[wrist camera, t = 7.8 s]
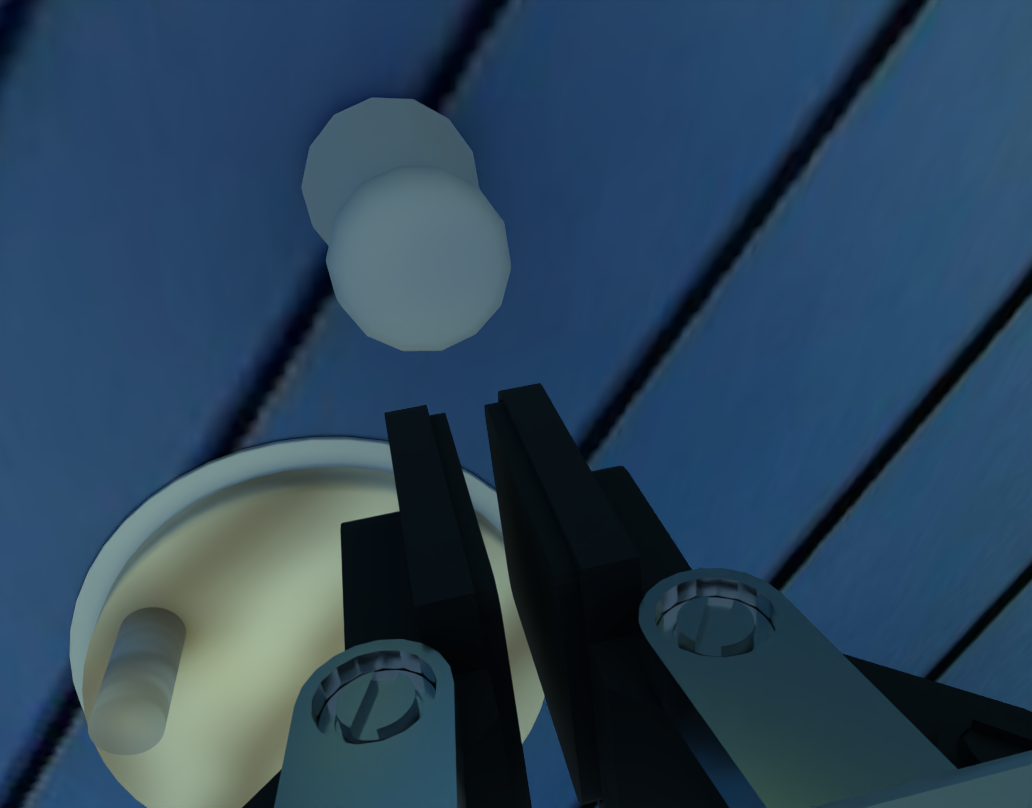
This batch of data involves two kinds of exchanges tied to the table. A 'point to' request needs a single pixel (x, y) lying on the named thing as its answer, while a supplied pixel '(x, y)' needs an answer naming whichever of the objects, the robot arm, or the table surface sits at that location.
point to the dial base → (211, 481)
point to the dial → (240, 634)
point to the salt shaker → (405, 225)
